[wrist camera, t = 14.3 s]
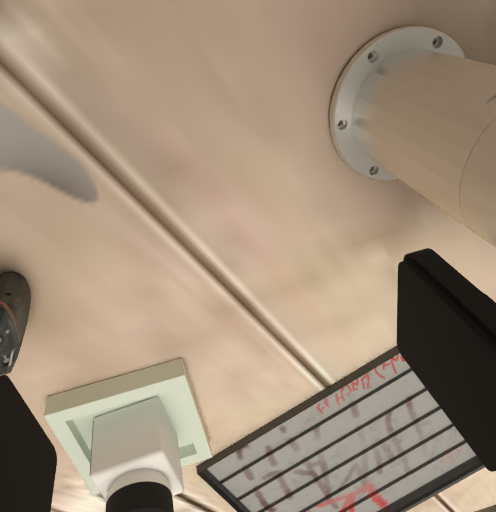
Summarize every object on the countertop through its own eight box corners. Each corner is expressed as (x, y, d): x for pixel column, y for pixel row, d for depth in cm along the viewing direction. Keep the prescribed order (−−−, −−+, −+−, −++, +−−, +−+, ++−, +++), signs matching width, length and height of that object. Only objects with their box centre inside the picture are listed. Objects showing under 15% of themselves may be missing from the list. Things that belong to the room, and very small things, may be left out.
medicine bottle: (92, 416, 48) (84, 531, 38) (158, 394, 48) (167, 501, 38) (117, 456, 52) (116, 569, 42) (177, 434, 52) (191, 541, 42)
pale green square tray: (182, 357, 48) (184, 374, 46) (209, 439, 55) (212, 457, 53) (47, 396, 46) (43, 416, 44) (94, 475, 54) (92, 495, 52)
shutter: (195, 430, 63) (302, 538, 76) (196, 474, 57) (312, 583, 70) (402, 314, 59) (477, 450, 72) (428, 347, 52) (505, 490, 66)
